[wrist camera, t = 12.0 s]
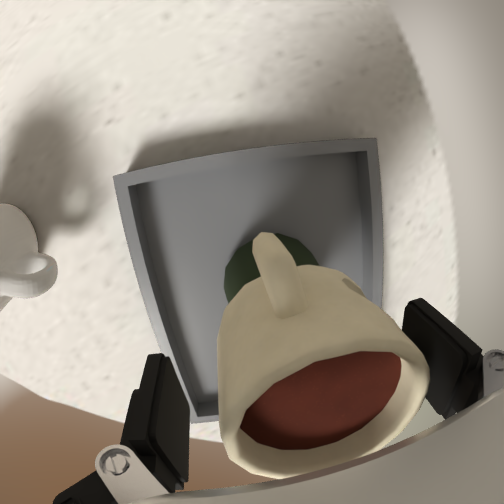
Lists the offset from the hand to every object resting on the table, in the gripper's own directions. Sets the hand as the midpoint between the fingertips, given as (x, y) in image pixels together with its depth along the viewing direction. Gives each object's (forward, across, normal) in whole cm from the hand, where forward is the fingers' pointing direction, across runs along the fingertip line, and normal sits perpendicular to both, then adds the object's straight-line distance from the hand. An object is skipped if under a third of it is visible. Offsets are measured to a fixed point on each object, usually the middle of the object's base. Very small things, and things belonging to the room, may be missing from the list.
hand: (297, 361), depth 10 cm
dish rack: (+11, 0, +3) cm, 11 cm away
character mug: (+10, -1, +1) cm, 10 cm away
